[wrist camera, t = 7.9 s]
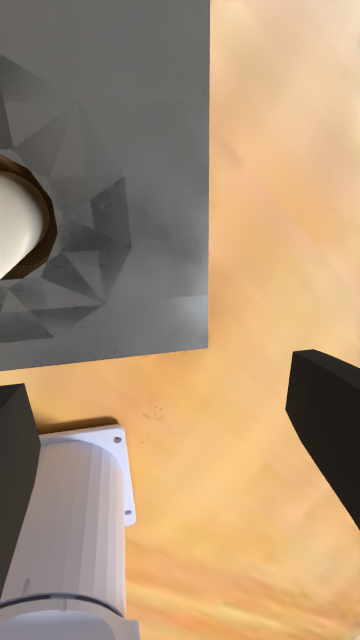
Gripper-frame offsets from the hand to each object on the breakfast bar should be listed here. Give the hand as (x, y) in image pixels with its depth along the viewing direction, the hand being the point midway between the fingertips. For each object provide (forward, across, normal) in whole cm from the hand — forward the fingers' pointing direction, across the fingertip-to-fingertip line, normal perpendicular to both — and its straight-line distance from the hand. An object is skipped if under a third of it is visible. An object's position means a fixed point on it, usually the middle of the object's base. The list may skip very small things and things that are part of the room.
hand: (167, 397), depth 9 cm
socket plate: (+10, +6, -4) cm, 12 cm away
